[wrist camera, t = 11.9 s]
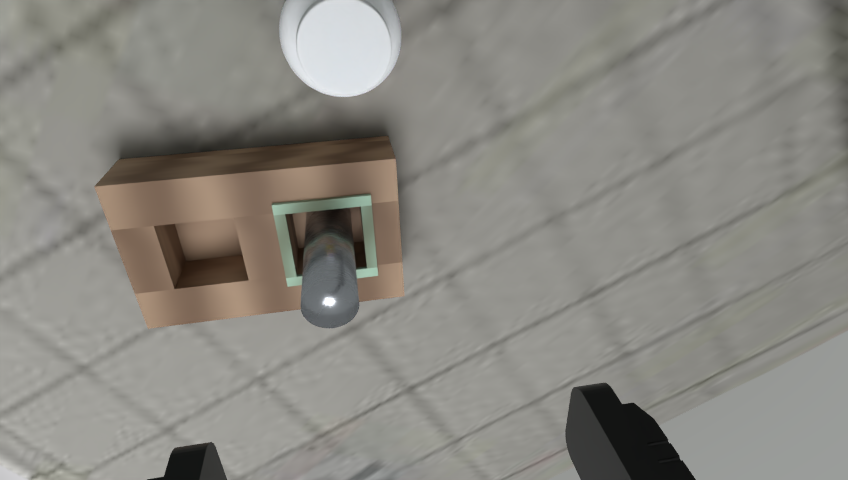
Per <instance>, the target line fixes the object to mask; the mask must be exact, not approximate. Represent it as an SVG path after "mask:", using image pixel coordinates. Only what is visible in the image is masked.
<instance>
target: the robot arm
mask: <svg viewBox="0 0 848 480" xmlns="http://www.w3.org/2000/svg"><path fill="white" fill-rule="evenodd" d="M566 443H567V448H568V452H569V455H570V457H571V460H572V462H573V464H574V466H575V468H576V470H577V472H578V474H579V476H580V479H581V480H696V479H695V478H694V476H693V475H692V474H691V472H690V471H689V469H688V468H687V466H686V465H685V464H684V462H683V461H681V460H680V458H679V455H678V453H677V452H676V450H675V449H674V447H673V446H672V445H671V443H670V444H669V442H668V439H667V437H666V436H665V434H664V433H663V431H662V430H661V428H660V427H659V425H658V424H657V423H656V421H655V420H654V419H653V418H652V417H651V416H650V415H648V414H647V413H646V412H645V411H643V410H642V409H641V408H640V407H638V406H637V405H636V404H635V403H628V404H622V403H621V402H620V400H619V399H618V397H617V396H616V394H615V393H614V391H613V389H612V388H611V387H610V386H609V385H608V384H607V383H599V384H592V385H586V386H579V387H574V388H573V389H572V392H571V398H570V404H569V411H568V418H567V424H566ZM147 480H227V478H226V475H225V473H224V470H223V467H222V464H221V461H220V458H219V455H218V453H217V450H216V447H215V445H214V443H212V442H209V443H203V444H197V445H190V446H184V447H177V448H175V449H173V451H172V453H171V455H170V458H169V461H168V465H167V468H166V472H165V475H164V477H160V478H154V479H147Z"/></svg>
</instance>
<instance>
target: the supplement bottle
mask: <svg viewBox="0 0 848 480" xmlns="http://www.w3.org/2000/svg"><path fill="white" fill-rule="evenodd" d="M279 36H280V43H281V47H282V50H283V53H284V55H285V58H286V60H287V62H288V63H289V65H290V67H291V68H292V70H293V71H294V72H295V74H296V75H297V76H298V77H299V78H300V79H301V80H302V81H303V82H304V83H306V84H307V85H308V86H310V87H311V88H313V89H315V90H317V91H319V92H321V93H324V94H327V95H331V96H336V97H351V96H356V95H360V94H363V93H366V92H368V91H370V90H372V89H374V88H375V87H377V86H378V85H379V84H380V83H382V82H383V81H384V80H385V79H386V77H387V76H388V75H389V74H390V72H391V71H392V69H393V68H394V66H395V64H396V61H397V59H398V56H399V53H400V48H401V25H400V20H399V16H398V13H397V10H396V8H395V6H394V4H393V2H392V0H286V1H285V3H284V5H283V8H282V12H281V16H280V23H279Z"/></svg>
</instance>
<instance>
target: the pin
mask: <svg viewBox="0 0 848 480" xmlns="http://www.w3.org/2000/svg"><path fill="white" fill-rule="evenodd" d="M300 307H301V312H302V314H303V316H304V317H305V318H306V320H307V321H309V322H310V323H311V324H313V325H315V326H318V327H322V328H335V327H340V326H342V325H345V324H347V323H348V322H350V321H351V320H352V319H353V318H354V317H355V315H356V314H357V312H358V309H359V296H358V285H357V274H356V264H355V253H354V242H353V232H352V221H351V212H350V209H349V208H341V209H331V210H322V211H312V212H306V226H305V241H304V257H303V273H302V289H301V305H300Z"/></svg>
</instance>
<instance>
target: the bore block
mask: <svg viewBox="0 0 848 480" xmlns="http://www.w3.org/2000/svg"><path fill="white" fill-rule="evenodd" d="M94 187H95V190H96V192H97V195H98V198H99V200H100V203H101V206H102V208H103V211H104V213H105V216H106V219H107V221H108V224H109V227H110V229H111V232H112V235H113V237H114V240H115V242H116V245H117V248H118V250H119V253H120V256H121V258H122V261H123V264H124V266H125V269H126V271H127V274H128V277H129V279H130V282H131V285H132V287H133V290H134V293H135V295H136V298H137V300H138V303H139V306H140V308H141V311H142V314H143V316H144V319H145V322H146V324H147V327H148V329H149V328H157V327H165V326H173V325H180V324H188V323H196V322H204V321H212V320H220V319H228V318H236V317H243V316H251V315H259V314H267V313H275V312H283V311H291V310H299V309H301V307H300V305H301V289H302V273H303V257H304V241H305V226H306V212H312V211H322V210H331V209H341V208H349V209H350V212H351V221H352V232H353V242H354V253H355V264H356V274H357V285H358V296H359V302H361V301H369V300H377V299H385V298H393V297H401V296H404V283H403V267H402V251H401V235H400V219H399V203H398V186H397V170H396V158H395V155H394V152H393V149H392V146H391V143H390V140H389V137H388V136H381V137H369V138H358V139H346V140H335V141H323V142H312V143H300V144H289V145H277V146H266V147H254V148H243V149H231V150H220V151H208V152H196V153H185V154H173V155H162V156H150V157H139V158H127V159H119V160H118V161H117V162H116V163H115V164H114V165H113V167H112V168H111V169H110V170H109V171H108V172H107V173H106V174H105V175H104V177H103V178H102V179H101V180H100V181H99V182H98V183H97V184H96V185H95V186H94Z"/></svg>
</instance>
